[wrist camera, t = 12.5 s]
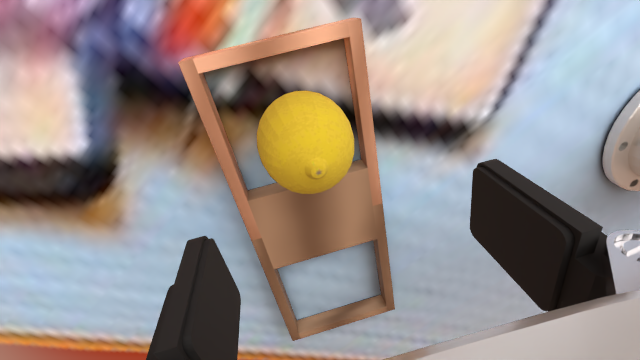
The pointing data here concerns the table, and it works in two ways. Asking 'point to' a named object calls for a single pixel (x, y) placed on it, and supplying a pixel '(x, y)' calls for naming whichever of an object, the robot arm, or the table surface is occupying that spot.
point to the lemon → (305, 142)
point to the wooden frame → (305, 209)
